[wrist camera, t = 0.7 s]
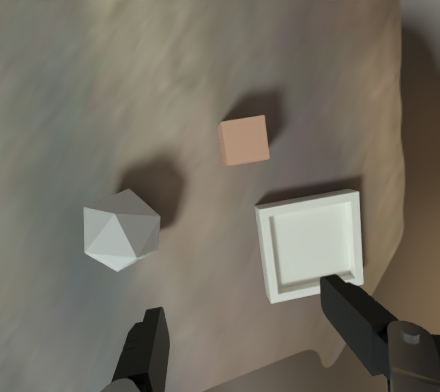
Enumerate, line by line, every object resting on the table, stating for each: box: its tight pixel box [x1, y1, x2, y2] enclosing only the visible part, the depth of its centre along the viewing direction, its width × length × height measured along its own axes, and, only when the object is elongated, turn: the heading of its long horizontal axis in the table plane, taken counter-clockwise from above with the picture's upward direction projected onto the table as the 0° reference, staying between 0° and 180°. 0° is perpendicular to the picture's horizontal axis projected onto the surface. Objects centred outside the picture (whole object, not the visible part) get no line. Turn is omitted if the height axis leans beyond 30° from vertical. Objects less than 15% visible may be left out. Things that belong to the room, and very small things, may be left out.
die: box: [84, 189, 161, 272], centre depth 29 cm, size 8×9×10 cm
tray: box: [255, 189, 363, 303], centre depth 35 cm, size 14×14×2 cm
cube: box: [217, 115, 270, 166], centre depth 30 cm, size 5×5×5 cm
